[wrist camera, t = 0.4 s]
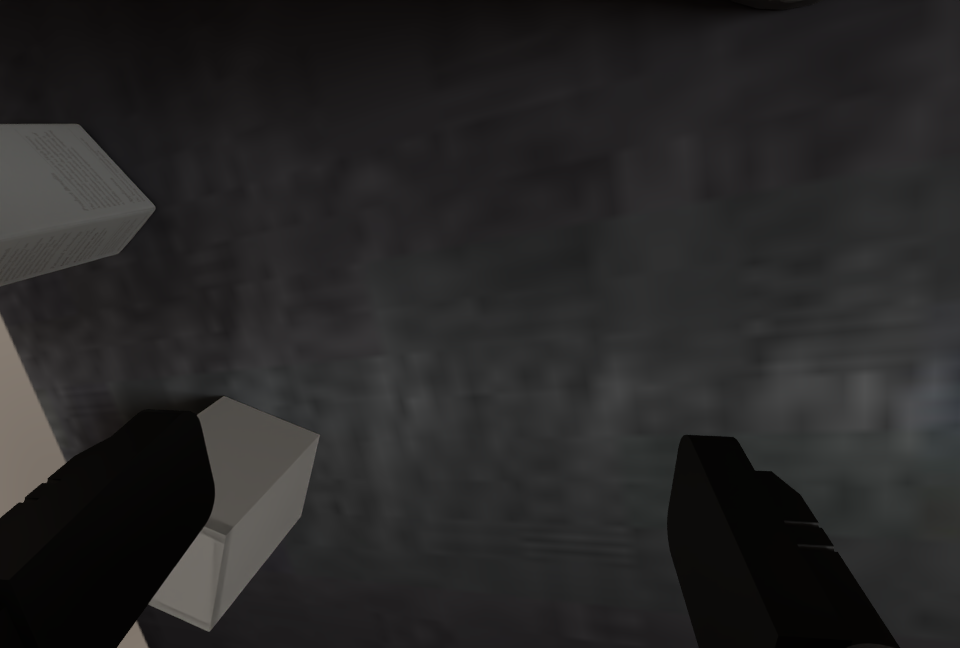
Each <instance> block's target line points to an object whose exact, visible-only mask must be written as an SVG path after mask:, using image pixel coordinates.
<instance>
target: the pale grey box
mask: <svg viewBox="0 0 960 648" xmlns="http://www.w3.org/2000/svg"><path fill="white" fill-rule="evenodd" d="M197 416H198V418H199V420H200V423H201V426H202V431H203V435H204V440H205V444H206V449H207V453H208V457H209V462H210V466H211V471H212V475H213V480H214V485H215V500H214V505H213V509H212V513H211V515H210V517H209V519H208V521H207V523H206V525H205V526H204V527H203V529H202V530H201V532H200V533H199V534H198V536H197V537H196V539H195V540H194V541H193V543H192V544H191V545H190V547H189V548H188V550H187V551H186V552H185V554H184V555H183V557H182V558H181V559H180V561H179V562H178V563H177V565H176V566H175V568H174V569H173V570H172V572H171V573H170V575H169V576H168V577H167V579H166V580H165V581H164V583H163V584H162V586H161V587H160V588H159V590H158V591H157V593H156V594H155V595H154V597H153V598H152V599H151V601H150V602H149V605H151V606H153V607H155V608H157V609H160V610H162V611H164V612H166V613H169V614H171V615H173V616H175V617H177V618H180V619H182V620H184V621H186V622H189V623H191V624H193V625H195V626H197V627H200V628H202V629H204V630H206V631H209V632H210V631H211V629H212V628H213V627H214V626H215V624H216V623H217V622H218V620H219V619H220V618H221V617H222V615H223V614H224V613H225V612H226V610H227V609H228V608H229V607H230V605H231V604H232V603H233V602H234V600H235V599H236V598H237V596H238V595H239V594H240V593H241V591H242V590H243V589H244V588H245V586H246V585H247V584H248V583H249V581H250V580H251V579H252V577H253V576H254V575H255V574H256V572H257V571H258V570H259V569H260V567H261V566H262V565H263V564H264V562H265V561H266V560H267V559H268V557H269V556H270V555H271V553H272V552H273V551H274V550H275V548H276V547H277V546H278V545H279V543H280V542H281V541H282V540H283V538H284V537H285V536H286V534H287V533H288V532H289V531H290V529H291V528H292V527H293V526H294V524H295V523H296V522H297V521H298V519H299V518H300V517H301V514H302V510H303V506H304V501H305V497H306V493H307V489H308V484H309V480H310V476H311V471H312V467H313V463H314V458H315V454H316V450H317V445H318V441H319V437H320V435H319V434H317V433H314V432H312V431H309V430H307V429H304V428H302V427H299V426H297V425H294V424H292V423H289V422H287V421H285V420H282V419H280V418H277V417H275V416H272V415H270V414H267V413H265V412H262V411H260V410H257V409H255V408H252V407H250V406H248V405H245V404H243V403H240V402H238V401H235V400H233V399H230V398H228V397H225V396H223V397H222V398H220V399H219V400H217V401H216V402H215V403H213V404H212V405H210V406H209V407H208V408H206V409H205V410H203V411H202V412H200V413H199V414H198V415H197Z"/></svg>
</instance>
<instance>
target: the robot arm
mask: <svg viewBox="0 0 960 648" xmlns="http://www.w3.org/2000/svg"><path fill="white" fill-rule="evenodd" d="M731 1H733V2H736V3H739V4H743V5H746V6H750V7H753V8H757V9H778V10H785V9H791V8H797V7H803V6H808V5H813V4H815V3H818V2H820V1H823V0H731ZM214 500H215V485H214V480H213V475H212V471H211V466H210V462H209V457H208V453H207V449H206V444H205V440H204V435H203V431H202V426H201V423H200V420H199V418H198V416H197V415H196V414H195V413H193V412H191V411H171V410H149V409H147V410H143V411H141V412H140V413H138V414H137V415H136V416H135V417H133V418H132V419H131V420H130V421H129V422H128V423H126V424H125V425H124V426H123V427H122V428H121V429H119V430H118V431H117V432H116V433H115V434H114V435H112V436H111V437H110V438H108V439H106V440H104V441H102V442H100V443H98V444H96V445H94V446H93V447H91V448H89V449H87V450H85V451H83V452H81V453H79V454H78V455H76V456H74V457H73V458H72V459H70V460H69V461H68V462H67V463H66V464H65V465H63V466H62V467H61V468H60V469H58V470H57V471H56V472H55V473H54V474H52V475H51V476H50V477H49V478H48V481H47V483H42V484H41V485H39V486H38V487H37V488H36V489H35V490H33V491H32V492H31V493H30V494H29V495H27V496H26V497H25V501H24V502H23V503H18V504H17V505H15V506H14V507H13V508H12V509H11V510H9V511H8V512H7V513H6V514H5V515H3V516H2V517H1V518H0V648H117V647H118V645H119V644H120V642H121V641H122V640H123V638H124V637H125V635H126V634H127V633H128V631H129V630H130V628H131V627H132V626H133V624H134V623H135V622H136V620H137V619H138V617H139V616H140V615H141V613H142V612H143V611H144V609H145V608H146V606H147V605H148V604H149V602H150V601H151V599H152V598H153V597H154V595H155V594H156V593H157V591H158V590H159V588H160V587H161V586H162V584H163V583H164V581H165V580H166V579H167V577H168V576H169V575H170V573H171V572H172V570H173V569H174V568H175V566H176V565H177V563H178V562H179V561H180V559H181V558H182V557H183V555H184V554H185V552H186V551H187V550H188V548H189V547H190V545H191V544H192V543H193V541H194V540H195V539H196V537H197V536H198V534H199V533H200V532H201V530H202V529H203V527H204V526H205V525H206V523H207V521H208V519H209V517H210V515H211V513H212V509H213V505H214ZM667 531H668V542H669V548H670V552H671V556H672V559H673V563H674V566H675V569H676V573H677V576H678V579H679V583H680V586H681V589H682V593H683V596H684V599H685V603H686V606H687V609H688V613H689V616H690V619H691V623H692V626H693V630H694V633H695V636H696V640H697V643H698V646H699V648H900V647H899V645H898V644H897V642H896V641H895V639H894V638H893V636H892V635H891V633H890V632H889V630H888V629H887V627H886V626H885V624H884V622H883V621H882V619H881V618H880V616H879V615H878V613H877V612H876V610H875V609H874V607H873V606H872V604H871V602H870V601H869V599H868V598H867V596H866V595H865V593H864V592H863V590H862V589H861V587H860V586H859V584H858V582H857V581H856V579H855V578H854V576H853V575H852V573H851V572H850V570H849V569H848V567H847V566H846V564H845V563H844V561H843V559H842V558H841V556H840V555H839V553H838V552H834V548H833V547H834V546H833V544H832V543H831V541H830V539H829V538H828V536H827V535H826V533H825V532H824V530H823V529H822V528H819V526H818V521H817V520H816V518H815V516H814V515H813V513H812V512H811V510H810V509H809V507H808V506H807V504H806V503H805V501H804V500H803V498H802V496H801V495H800V494H799V493H797V492H796V491H795V490H794V489H793V488H791V487H790V486H789V485H788V484H786V483H785V482H784V481H783V480H781V479H780V478H779V477H778V476H777V475H775V474H774V473H773V472H772V471H755V470H754V468H753V466H752V465H751V463H750V461H749V460H748V458H747V456H746V454H745V453H744V451H743V449H742V447H741V446H740V444H739V442H738V441H737V440H736V439H735V438H734V437H721V436H699V435H684V436H683V437H682V438H681V441H680V444H679V448H678V454H677V460H676V466H675V472H674V478H673V484H672V490H671V496H670V502H669V508H668V517H667Z"/></svg>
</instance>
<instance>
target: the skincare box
mask: <svg viewBox="0 0 960 648" xmlns="http://www.w3.org/2000/svg"><path fill="white" fill-rule="evenodd" d="M154 211H155V206H154V204H153V203H152V202H151V201H150V200H149V199H148V198H147V197H146V196H145V195H144V194H143V193H142V192H141V190H140V189H139V188H138V187H137V186H136V185H135V184H134V183H133V182H132V181H131V180H130V179H129V178H128V177H127V175H126V174H125V173H124V172H123V171H122V170H121V169H120V168H119V167H118V166H117V165H116V164H115V163H114V161H113V160H112V159H111V158H110V157H109V156H108V155H107V154H106V153H105V152H104V151H103V150H102V148H101V147H100V146H99V145H98V144H97V143H96V142H95V141H94V140H93V139H92V138H91V137H90V136H89V135H88V133H87V132H86V131H85V130H84V129H83V128H82V127H81V126H80V125H79V124H0V286H4V285H8V284H11V283H15V282H18V281H22V280H25V279H29V278H32V277H36V276H39V275H43V274H47V273H51V272H54V271H58V270H62V269H65V268H69V267H72V266H76V265H80V264H83V263H87V262H91V261H94V260H97V259H101V258H104V257H108V256H112V255H116V254H118V253H120V251H121V250H123V248H124V247H125V246H126V245H127V244H128V243H129V242H130V240H131V239H132V238H133V237H134V236H135V235H136V233H137V232H138V231H139V230H140V228H141V227H142V226H143V225H144V224H145V222H146V221H147V220H148V218H149V217H150V216H151V215H152V213H153V212H154Z"/></svg>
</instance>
